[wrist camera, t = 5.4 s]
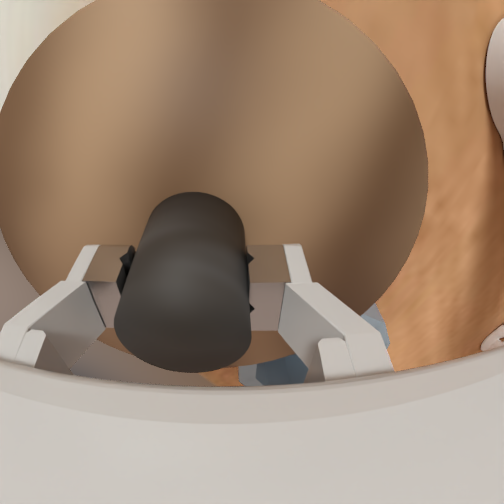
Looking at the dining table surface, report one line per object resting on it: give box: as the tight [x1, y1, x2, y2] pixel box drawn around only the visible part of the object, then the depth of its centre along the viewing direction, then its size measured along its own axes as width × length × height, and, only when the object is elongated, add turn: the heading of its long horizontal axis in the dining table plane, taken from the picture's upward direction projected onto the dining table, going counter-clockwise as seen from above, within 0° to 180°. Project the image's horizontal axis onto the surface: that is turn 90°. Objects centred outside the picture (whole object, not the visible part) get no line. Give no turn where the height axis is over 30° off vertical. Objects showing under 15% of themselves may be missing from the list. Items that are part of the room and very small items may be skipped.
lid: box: [0, 0, 428, 373], centre depth 9 cm, size 16×16×5 cm
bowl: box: [238, 303, 390, 386], centre depth 29 cm, size 14×14×6 cm
